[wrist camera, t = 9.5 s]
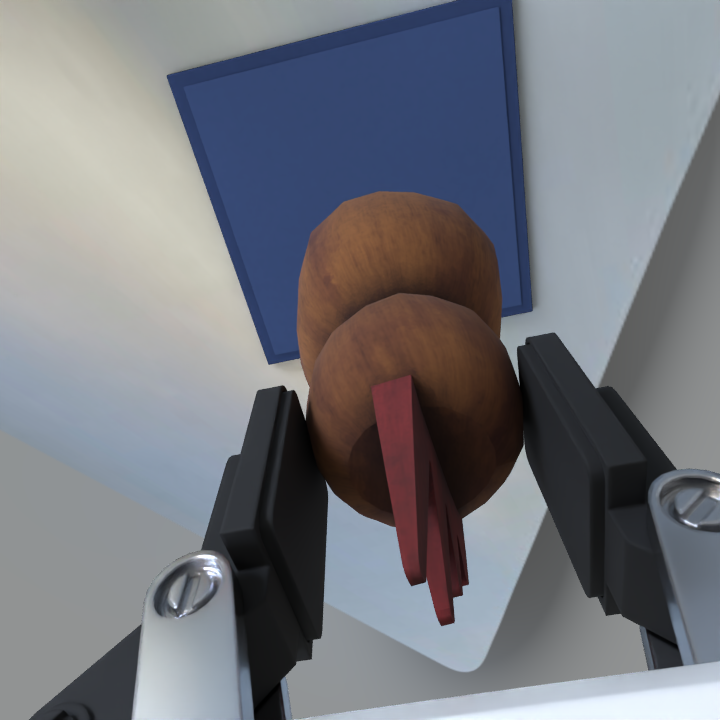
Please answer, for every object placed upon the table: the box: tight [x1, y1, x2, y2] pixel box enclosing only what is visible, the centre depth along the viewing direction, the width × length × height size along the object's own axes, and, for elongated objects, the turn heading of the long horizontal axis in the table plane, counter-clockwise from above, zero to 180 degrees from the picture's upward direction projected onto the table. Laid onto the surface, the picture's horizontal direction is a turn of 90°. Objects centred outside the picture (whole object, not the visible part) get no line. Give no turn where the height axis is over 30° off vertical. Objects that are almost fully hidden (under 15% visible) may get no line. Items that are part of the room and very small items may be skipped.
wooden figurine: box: [297, 191, 524, 626], centre depth 13 cm, size 7×6×15 cm
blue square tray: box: [167, 0, 533, 365], centre depth 32 cm, size 18×18×1 cm
